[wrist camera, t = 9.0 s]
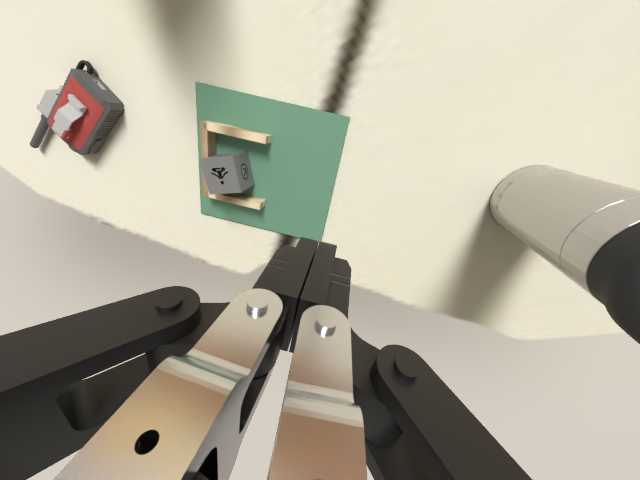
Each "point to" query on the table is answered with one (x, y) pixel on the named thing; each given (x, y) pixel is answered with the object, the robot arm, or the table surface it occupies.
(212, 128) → the wooden u-shaped frame
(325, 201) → the green mat
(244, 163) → the dice cube
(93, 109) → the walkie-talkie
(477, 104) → the table surface
